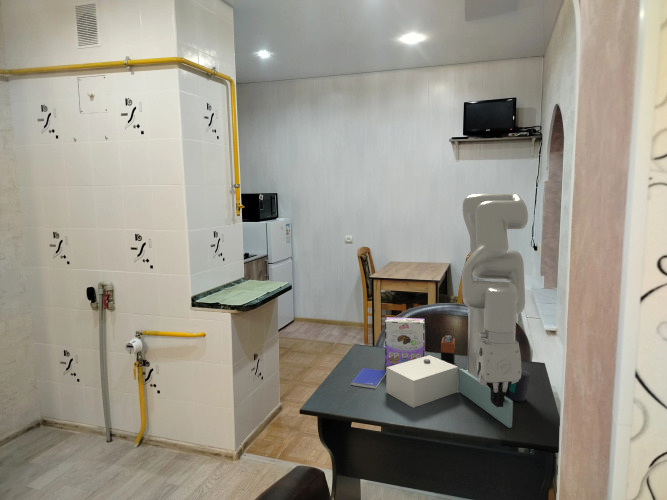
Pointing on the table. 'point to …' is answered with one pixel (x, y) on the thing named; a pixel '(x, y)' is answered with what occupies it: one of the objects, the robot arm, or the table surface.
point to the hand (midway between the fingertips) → (497, 404)
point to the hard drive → (369, 378)
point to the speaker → (519, 387)
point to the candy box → (404, 340)
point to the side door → (484, 397)
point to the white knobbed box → (421, 380)
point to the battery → (448, 349)
